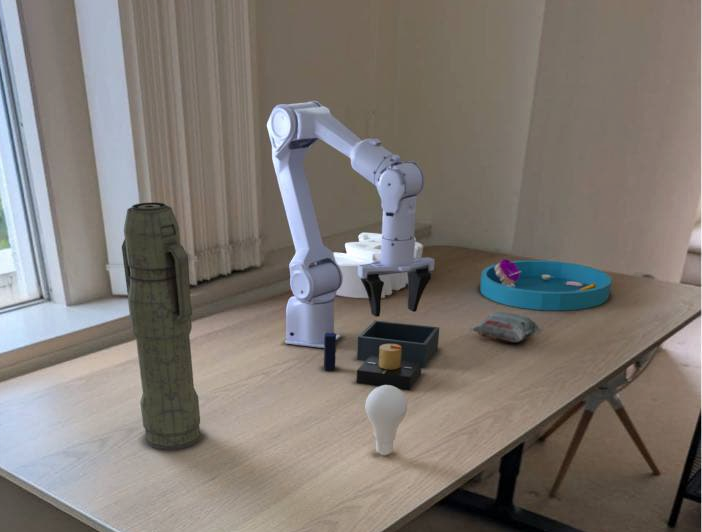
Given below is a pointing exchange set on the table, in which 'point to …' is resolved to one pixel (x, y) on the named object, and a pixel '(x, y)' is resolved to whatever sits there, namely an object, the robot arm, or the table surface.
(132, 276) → the thermos
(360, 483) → the table surface
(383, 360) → the tap knob
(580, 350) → the table surface
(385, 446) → the lightbulb
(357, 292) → the wavy white extrusion
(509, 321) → the packaged food
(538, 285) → the round blue tray
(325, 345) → the eraser
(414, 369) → the block
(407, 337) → the dark teal open box
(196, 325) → the table surface
